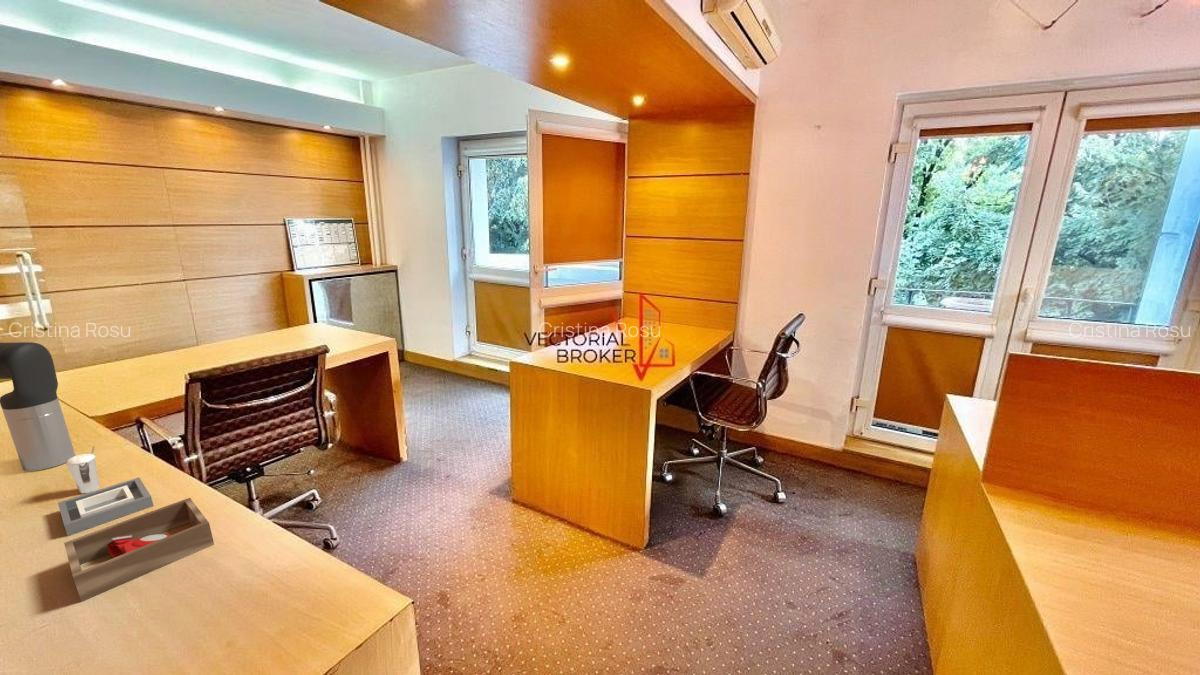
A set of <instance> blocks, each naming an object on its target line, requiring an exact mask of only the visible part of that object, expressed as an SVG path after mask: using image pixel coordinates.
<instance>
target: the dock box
mask: <svg viewBox="0 0 1200 675" xmlns="http://www.w3.org/2000/svg"><path fill="white" fill-rule="evenodd" d="M57 505H58V509H59V513H60V515H61V519H62V523H63V527H64V528H65V533H66V536H67V537H69V536H72V535H74V534H77V533H81V532H83V531H86V530H89V529H91V528H95V527H98V526H100V525H103V524H106V523H108V522H112V521H115V520H117V519H120V518H123V517H125V516H128V515H131V514H134V513H137V512H140V511H143V510H147V509H148V508H152V507H154V502H153V499H152V495H151V494H150V492H149V491H148V489H147V487H146V486H145V484H144V482H143V480H141V478H140V477H136V478H133V479H129V480H125V481H123V482H120V483H119V482H118V483H117V484H114V485H111V486H107V487H104V488H101V489H100V488H99V489H97V490H95V491H93V492H89V493H84V494H81V495H78V496H73V497H71V498H68V499H65V500H62V501H61V500H60V501H58V502H57Z"/></svg>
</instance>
